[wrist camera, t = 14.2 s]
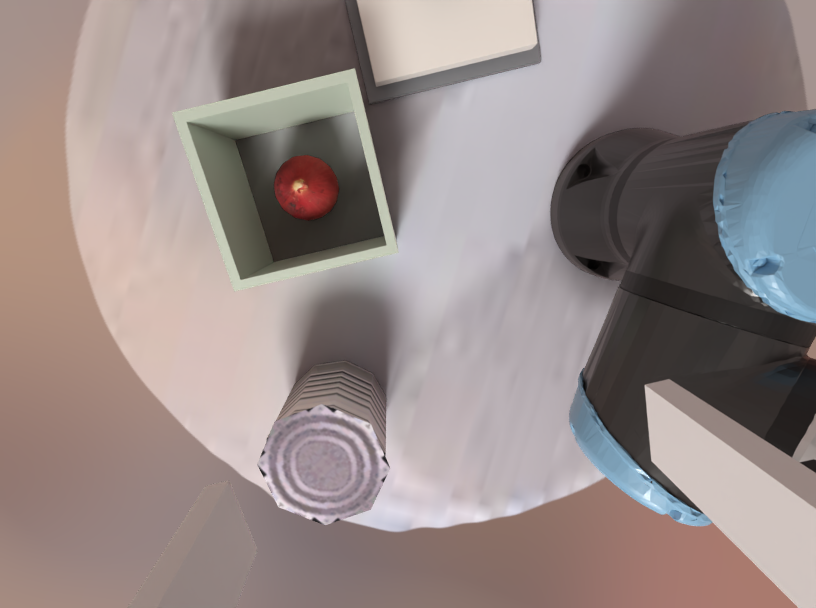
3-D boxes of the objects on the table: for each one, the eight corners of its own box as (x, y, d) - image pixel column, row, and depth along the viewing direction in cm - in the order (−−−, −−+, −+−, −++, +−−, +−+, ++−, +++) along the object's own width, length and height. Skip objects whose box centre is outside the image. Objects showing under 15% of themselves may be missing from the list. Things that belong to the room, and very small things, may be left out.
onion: (321, 229, 43) (306, 236, 35) (274, 195, 42) (248, 194, 34) (353, 183, 42) (345, 179, 34) (305, 147, 41) (286, 134, 33)
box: (363, 100, 40) (354, 68, 30) (396, 240, 43) (398, 252, 34) (224, 133, 40) (171, 112, 30) (268, 271, 44) (234, 291, 34)
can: (319, 461, 50) (298, 541, 38) (271, 385, 47) (232, 446, 35) (403, 423, 49) (408, 492, 37) (359, 342, 46) (349, 391, 34)
